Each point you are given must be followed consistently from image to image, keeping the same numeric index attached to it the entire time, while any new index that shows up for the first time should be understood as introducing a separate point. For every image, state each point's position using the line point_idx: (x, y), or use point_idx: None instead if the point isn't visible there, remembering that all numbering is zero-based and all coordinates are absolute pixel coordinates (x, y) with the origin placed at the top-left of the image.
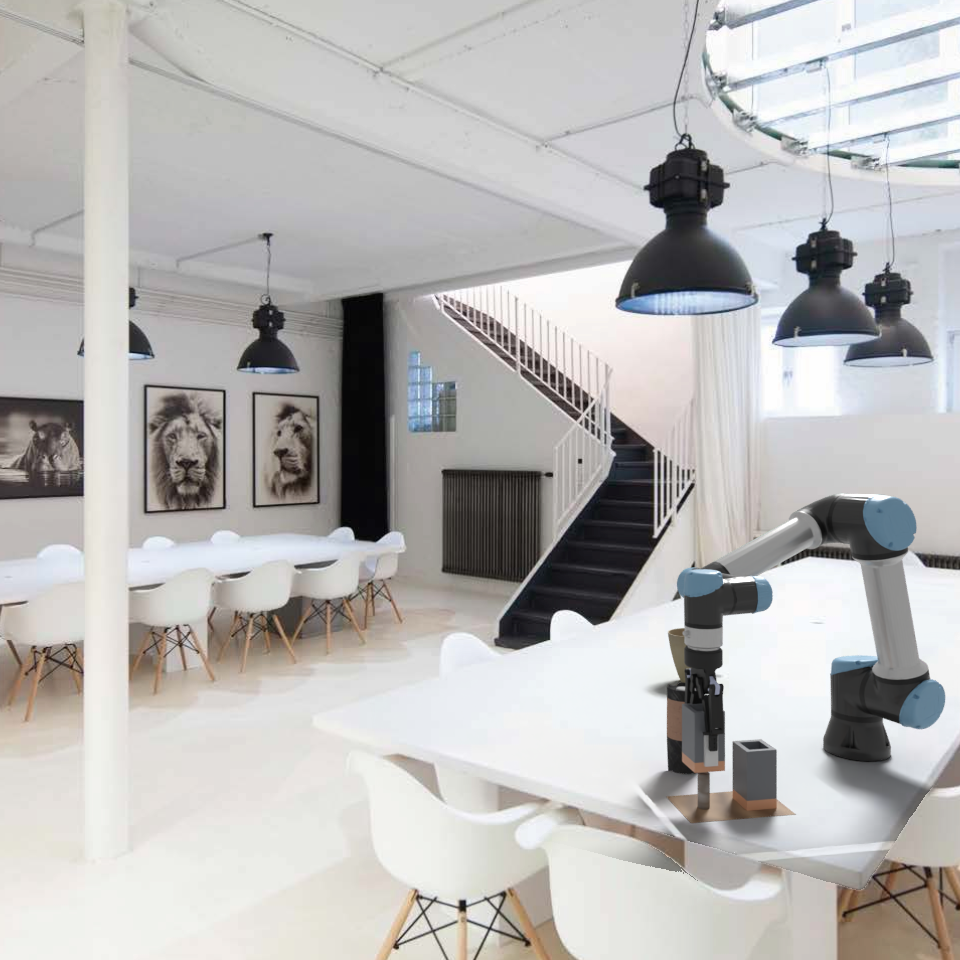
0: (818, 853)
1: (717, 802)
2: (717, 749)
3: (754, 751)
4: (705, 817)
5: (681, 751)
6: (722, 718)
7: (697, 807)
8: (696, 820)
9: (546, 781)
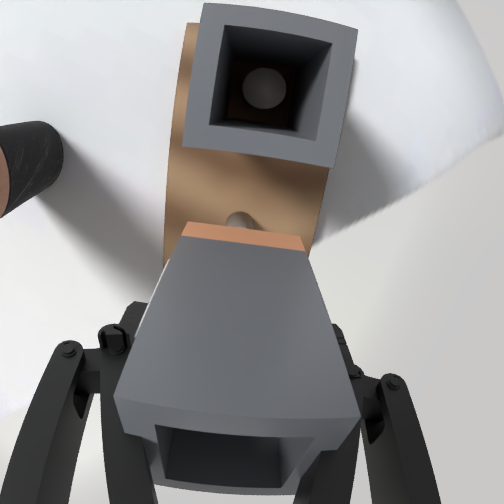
0: (463, 128)
1: (226, 179)
2: (340, 329)
3: (339, 131)
4: None
5: (23, 194)
6: (418, 435)
7: None
8: None
9: None
